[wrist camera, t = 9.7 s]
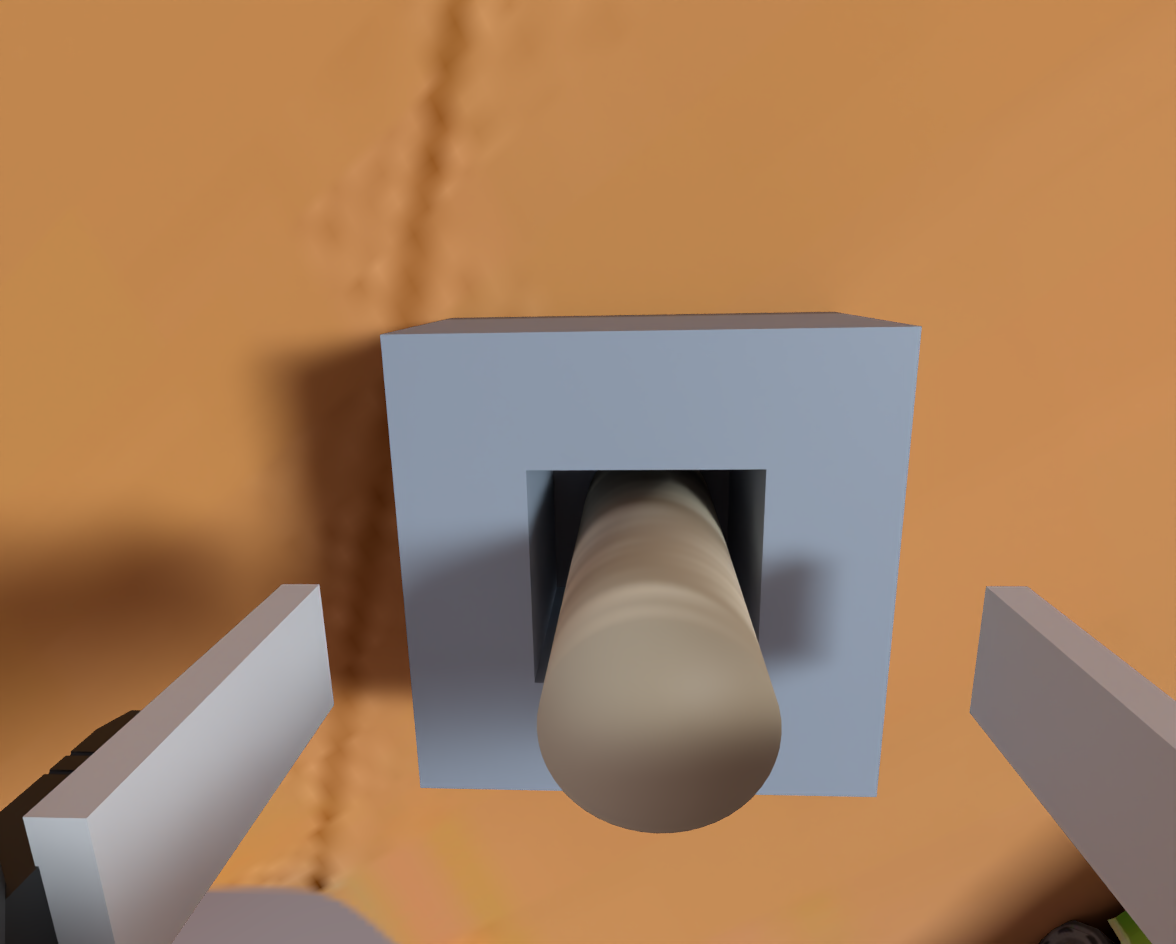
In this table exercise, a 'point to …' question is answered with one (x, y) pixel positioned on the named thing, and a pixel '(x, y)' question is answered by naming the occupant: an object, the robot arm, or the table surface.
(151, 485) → the table surface
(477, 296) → the table surface
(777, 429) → the socket block
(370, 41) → the table surface
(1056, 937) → the toy bus
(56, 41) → the table surface
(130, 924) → the robot arm
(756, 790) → the peg
